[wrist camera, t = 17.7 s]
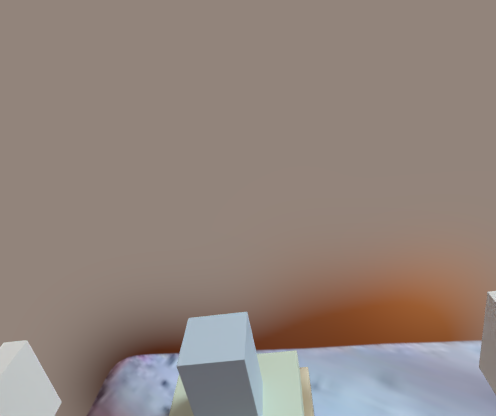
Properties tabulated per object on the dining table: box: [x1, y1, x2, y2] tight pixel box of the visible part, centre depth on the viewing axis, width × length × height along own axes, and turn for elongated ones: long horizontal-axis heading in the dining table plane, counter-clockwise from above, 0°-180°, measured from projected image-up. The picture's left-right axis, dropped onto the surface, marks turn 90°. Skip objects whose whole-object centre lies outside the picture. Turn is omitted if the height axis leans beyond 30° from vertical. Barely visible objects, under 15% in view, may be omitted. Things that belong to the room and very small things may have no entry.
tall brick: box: [177, 312, 263, 416], centre depth 38 cm, size 6×6×10 cm
